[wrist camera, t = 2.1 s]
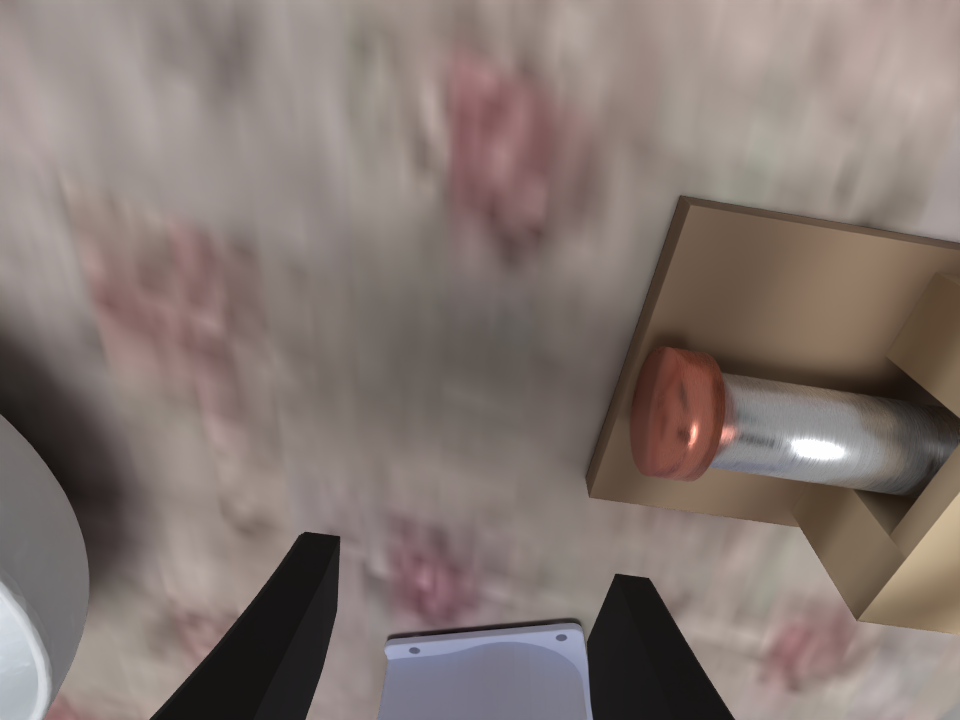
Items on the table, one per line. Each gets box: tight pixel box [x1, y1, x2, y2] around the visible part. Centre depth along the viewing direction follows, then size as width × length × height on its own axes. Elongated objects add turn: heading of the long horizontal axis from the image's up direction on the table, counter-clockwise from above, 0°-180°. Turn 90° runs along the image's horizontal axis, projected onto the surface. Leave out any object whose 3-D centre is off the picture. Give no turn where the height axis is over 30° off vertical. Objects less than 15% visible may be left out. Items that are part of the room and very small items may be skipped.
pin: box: [630, 346, 960, 498], centre depth 17 cm, size 10×4×4 cm, turn 81°
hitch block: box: [586, 196, 960, 635], centre depth 17 cm, size 15×11×6 cm
